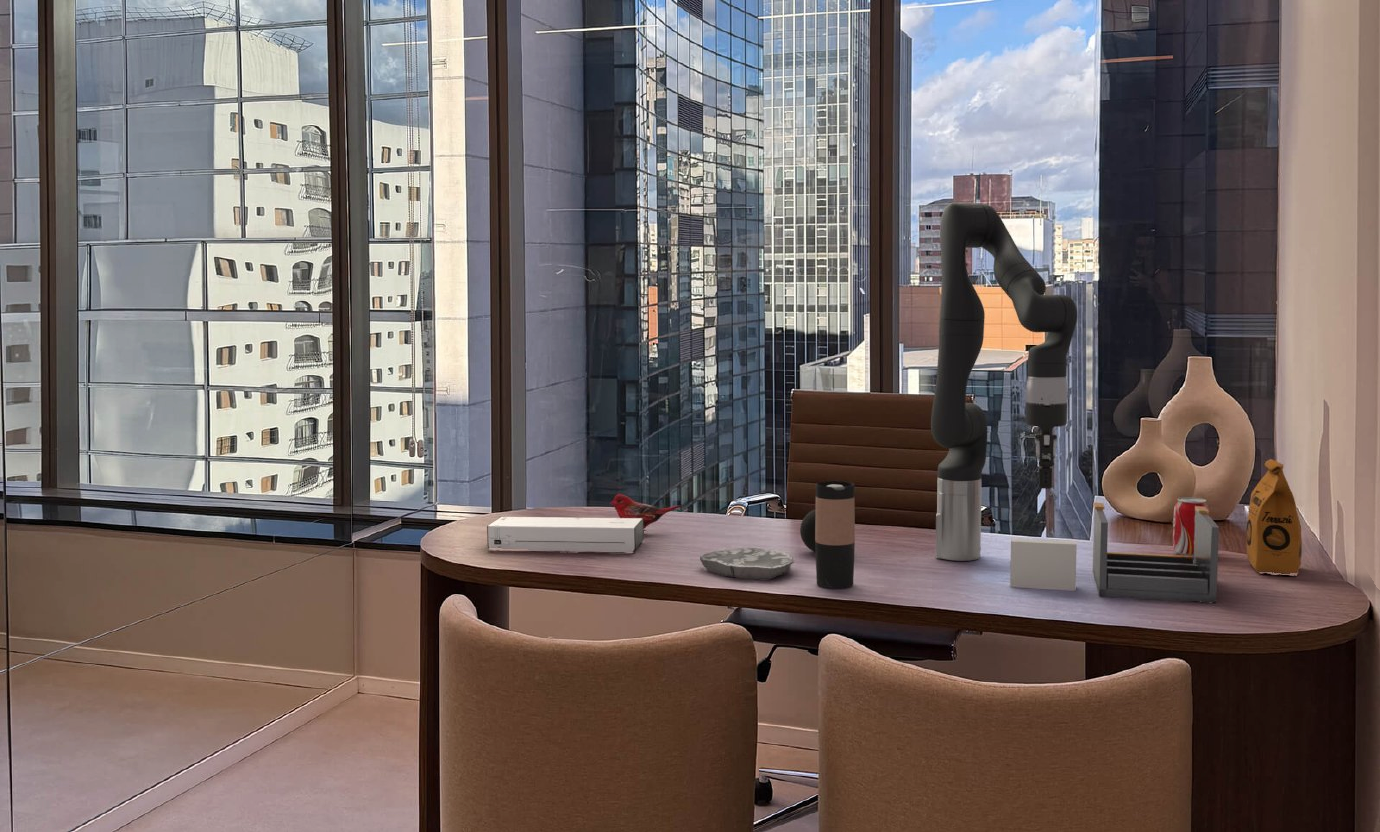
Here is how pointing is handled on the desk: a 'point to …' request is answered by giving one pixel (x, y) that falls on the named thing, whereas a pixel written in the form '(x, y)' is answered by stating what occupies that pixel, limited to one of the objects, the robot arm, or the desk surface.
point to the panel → (1043, 564)
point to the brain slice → (748, 563)
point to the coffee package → (1273, 525)
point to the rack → (1158, 566)
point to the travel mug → (835, 534)
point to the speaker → (809, 530)
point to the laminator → (566, 533)
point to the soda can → (1185, 524)
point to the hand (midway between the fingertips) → (1044, 484)
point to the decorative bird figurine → (638, 510)
